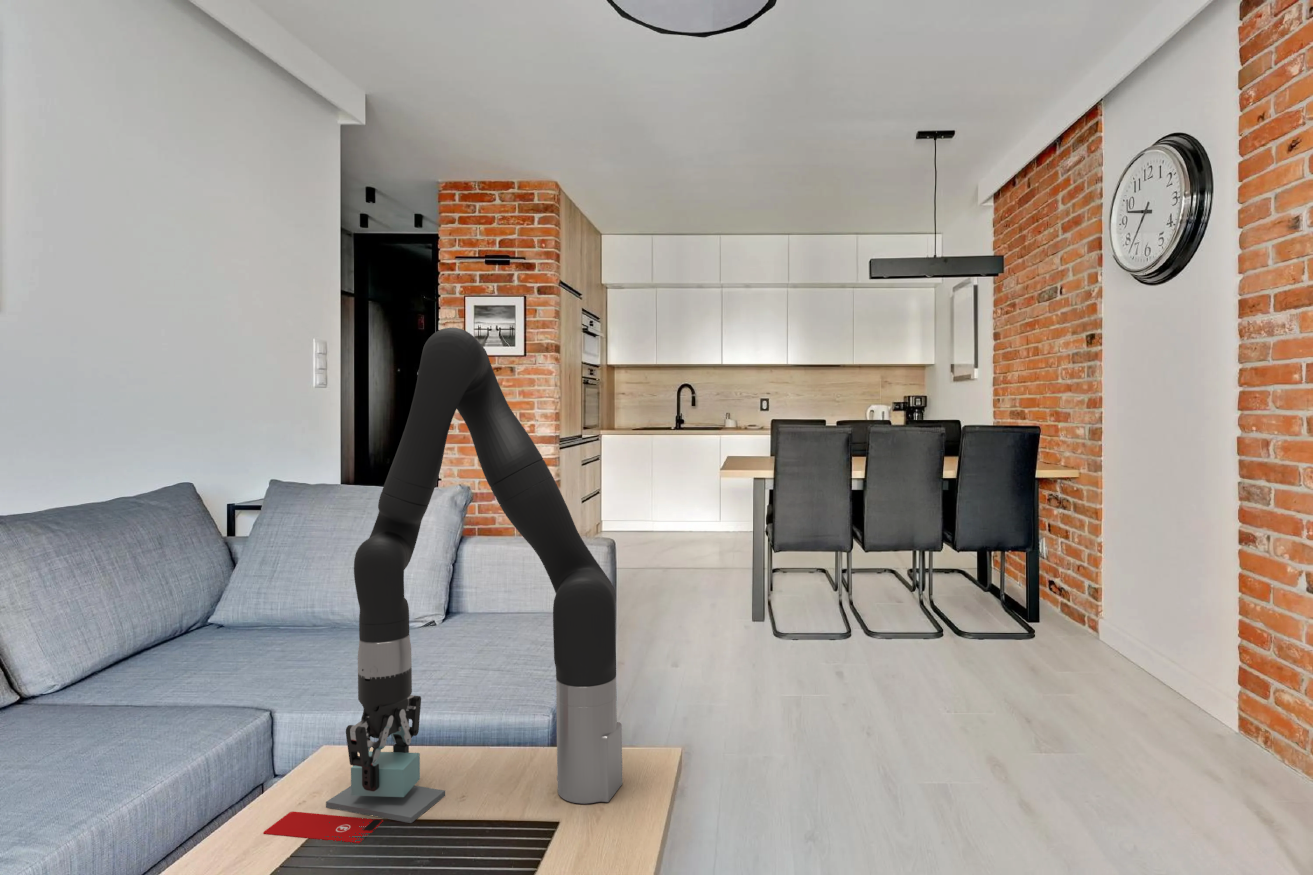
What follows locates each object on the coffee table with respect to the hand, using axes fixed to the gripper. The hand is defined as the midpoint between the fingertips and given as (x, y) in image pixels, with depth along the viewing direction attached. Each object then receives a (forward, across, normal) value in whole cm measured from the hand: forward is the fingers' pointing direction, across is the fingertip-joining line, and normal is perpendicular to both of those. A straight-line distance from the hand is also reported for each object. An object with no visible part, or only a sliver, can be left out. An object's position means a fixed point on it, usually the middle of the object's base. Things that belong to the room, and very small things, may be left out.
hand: (386, 778), depth 104 cm
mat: (+3, 0, 0) cm, 3 cm away
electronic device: (+4, +8, -4) cm, 10 cm away
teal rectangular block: (+1, 0, 0) cm, 1 cm away
